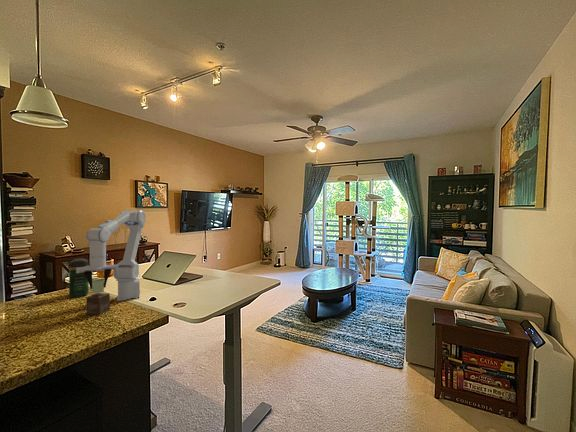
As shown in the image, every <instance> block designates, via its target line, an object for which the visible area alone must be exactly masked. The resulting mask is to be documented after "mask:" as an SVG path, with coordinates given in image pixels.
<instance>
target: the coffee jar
mask: <svg viewBox="0 0 576 432" xmlns="http://www.w3.org/2000/svg"><path fill="white" fill-rule="evenodd" d="M68 265H69V266H68V267H69V268H68V271H69V274H68V275H69V276H68V279H69V284H68V286H69V287H68V288H69V289H68V294H69V295H68V296H69V297H70V298H80V297H84V296H86V295H88V294H89V289H90V285H89V282H88V280H87V278H86V277H85V275H84V272H82V273H76V269H77V268H80V267H88V266H90V261H89V259H86V258H83V257H82V258H80V257H79V258H74V259H72V260H70V261H69V264H68Z"/></svg>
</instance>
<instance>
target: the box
mask: <svg viewBox="0 0 576 432" xmlns="http://www.w3.org/2000/svg"><path fill="white" fill-rule="evenodd" d="M110 295H111V294H110V292H109V293H106V292H100V293H93V294H91V295H89V296H86V298H85V299H86V303H85V304H86V315H97V316H98V315H102V314H104V313H106V312H108V311H110V309H111V307H110V306H111V305H110V299H111V297H110Z"/></svg>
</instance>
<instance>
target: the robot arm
mask: <svg viewBox="0 0 576 432" xmlns="http://www.w3.org/2000/svg"><path fill="white" fill-rule="evenodd" d="M146 219H147V216H146V213H145V211H144V210H126V209H125V210H122V211H120V213H119V215H117V217H115V218H114V219H106V220H104V221H105V222H103V223H101V224H99V225H98V226H97V227H91V228H90V229H88V230H87V232H86V235H85V238H86V241H87V244H88V246H89V266H88V267H80V268H77V269H76V273H82V272H84V275H85V277H86V278H87V280H88V282H89V289H90V290H92V280H93V272H101V271H102V272H104V273H103V278H104V289H106V285H107V282H108V279H109V277H110V275H111V273H112V270H113V273H112V274H113V277H114V279H115V280H116V282H117V296H116V301H117V302H121V301H128V300H127V299H129V300H131V299H130V298H136V299H139V298H138V297H140V294H141V289H140V286H141V285H140V278H138V276H139V275H140V264H139V263H138V262H137V261H136V258H137V252H138V248H139V244H140V241H141V236H142V231H143V228H144V227H145V223H146ZM123 224H124V225H125V226H126V228H128V229H129V234H128V238H127V241H126V246H125V249H124V250H125V251H124V253H123V254H124V255H123V257H122V258H123V259H122V260H121V261H119V262H117V263H116V264H107V241H109V240H110V236H111V235H112V234H114V233H115V232H116V231H118V230H119V226H122V225H123Z"/></svg>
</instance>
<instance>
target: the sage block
mask: <svg viewBox="0 0 576 432" xmlns="http://www.w3.org/2000/svg"><path fill="white" fill-rule="evenodd" d="M91 293H92V294H96V293H105V288H104V277H103V278H92V289H91Z"/></svg>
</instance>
